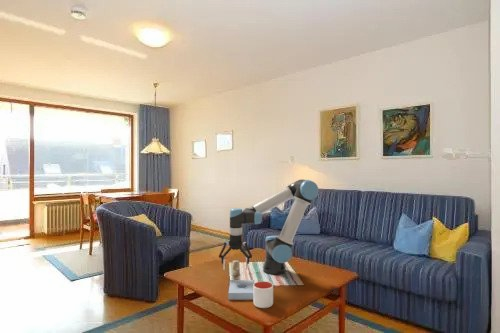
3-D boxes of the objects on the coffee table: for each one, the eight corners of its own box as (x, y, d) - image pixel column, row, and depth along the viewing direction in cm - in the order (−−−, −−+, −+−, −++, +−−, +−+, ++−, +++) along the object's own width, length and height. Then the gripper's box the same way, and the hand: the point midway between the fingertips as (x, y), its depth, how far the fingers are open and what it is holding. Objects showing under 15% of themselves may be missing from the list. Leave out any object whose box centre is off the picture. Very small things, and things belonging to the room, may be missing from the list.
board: (254, 286, 181) (254, 280, 181) (255, 299, 163) (255, 292, 163) (230, 286, 181) (230, 280, 181) (228, 299, 163) (228, 293, 163)
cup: (252, 300, 161) (252, 281, 161) (271, 299, 162) (271, 280, 162) (254, 309, 151) (254, 289, 151) (274, 308, 152) (274, 288, 152)
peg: (239, 279, 191) (239, 260, 191) (239, 282, 186) (239, 262, 186) (232, 279, 191) (232, 260, 191) (232, 282, 186) (232, 262, 186)
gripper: (256, 233, 192) (255, 267, 192) (215, 232, 192) (215, 266, 192) (256, 235, 185) (255, 271, 185) (214, 235, 185) (214, 270, 185)
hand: (235, 269), depth 189 cm, fingers open, 13 cm apart
